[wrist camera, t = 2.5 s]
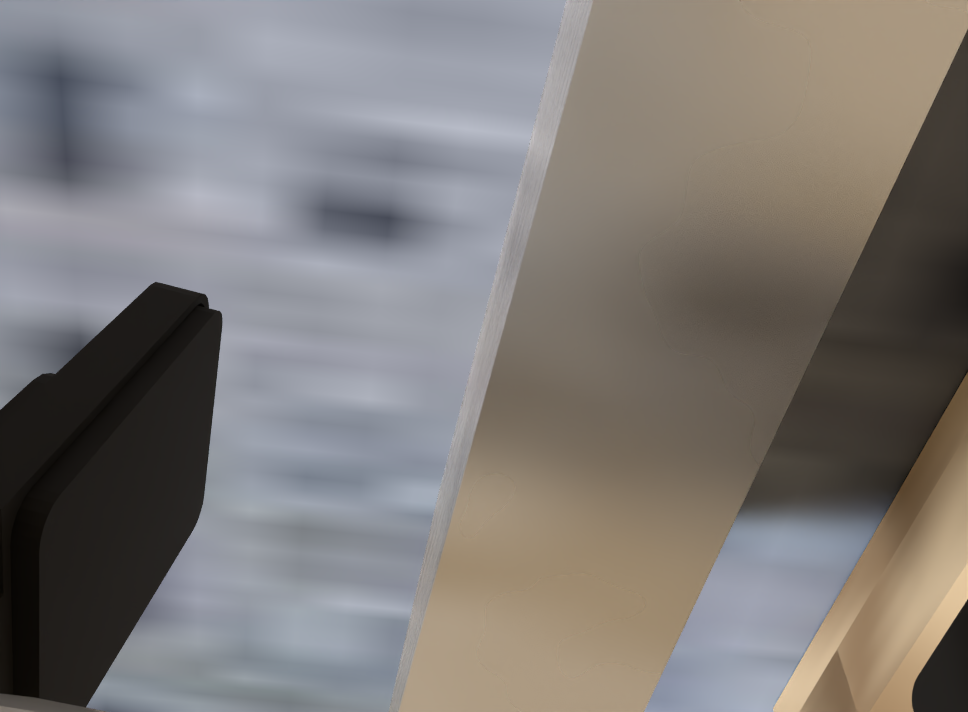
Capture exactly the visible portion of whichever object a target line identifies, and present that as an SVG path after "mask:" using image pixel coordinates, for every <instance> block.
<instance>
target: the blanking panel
mask: <svg viewBox="0 0 968 712" xmlns="http://www.w3.org/2000/svg"><path fill="white" fill-rule="evenodd" d="M967 29H968V0H566V4H565V8H564V12H563V16H562V20H561V23H560V27H559V31H558V35H557V39H556V43H555V46H554V50H553V54H552V58H551V62H550V66H549V70H548V73H547V77H546V81H545V85H544V89H543V93H542V97H541V100H540V104H539V108H538V112H537V116H536V120H535V123H534V127H533V131H532V135H531V139H530V143H529V147H528V150H527V154H526V158H525V162H524V166H523V170H522V174H521V177H520V181H519V185H518V189H517V193H516V197H515V200H514V204H513V208H512V212H511V216H510V220H509V224H508V227H507V231H506V235H505V239H504V243H503V247H502V251H501V254H500V258H499V262H498V266H497V270H496V274H495V277H494V281H493V285H492V289H491V293H490V297H489V301H488V304H487V308H486V312H485V316H484V320H483V324H482V327H481V331H480V335H479V339H478V343H477V347H476V351H475V354H474V358H473V362H472V366H471V370H470V374H469V378H468V381H467V385H466V389H465V393H464V397H463V401H462V404H461V408H460V412H459V416H458V420H457V424H456V428H455V431H454V435H453V439H452V443H451V447H450V451H449V455H448V458H447V462H446V466H445V470H444V474H443V478H442V481H441V485H440V489H439V493H438V498H437V502H436V506H435V511H434V515H433V520H432V524H431V528H430V533H429V537H428V541H427V546H426V550H425V555H424V559H423V563H422V568H421V572H420V577H419V581H418V585H417V590H416V594H415V599H414V603H413V607H412V612H411V616H410V621H409V625H408V629H407V634H406V638H405V642H404V647H403V651H402V656H401V660H400V664H399V669H398V673H397V678H396V682H395V686H394V691H393V695H392V700H391V704H390V708H389V712H644V710H645V708H646V706H647V704H648V702H649V700H650V698H651V696H652V693H653V691H654V689H655V687H656V685H657V683H658V681H659V679H660V677H661V674H662V672H663V670H664V668H665V666H666V664H667V662H668V660H669V658H670V655H671V653H672V651H673V649H674V647H675V645H676V643H677V641H678V639H679V637H680V634H681V632H682V630H683V628H684V626H685V624H686V622H687V620H688V618H689V615H690V613H691V611H692V609H693V607H694V605H695V603H696V601H697V599H698V596H699V594H700V592H701V590H702V588H703V586H704V584H705V582H706V580H707V578H708V575H709V573H710V571H711V569H712V567H713V565H714V563H715V561H716V559H717V556H718V554H719V552H720V550H721V548H722V546H723V544H724V542H725V540H726V537H727V535H728V533H729V531H730V529H731V527H732V525H733V523H734V521H735V518H736V516H737V514H738V512H739V510H740V508H741V506H742V504H743V502H744V500H745V497H746V495H747V493H748V491H749V489H750V487H751V485H752V483H753V481H754V478H755V476H756V474H757V472H758V470H759V468H760V466H761V464H762V462H763V459H764V457H765V455H766V453H767V451H768V449H769V447H770V445H771V443H772V441H773V438H774V436H775V434H776V432H777V430H778V428H779V426H780V424H781V422H782V419H783V417H784V415H785V413H786V411H787V409H788V407H789V405H790V403H791V400H792V398H793V396H794V394H795V392H796V390H797V388H798V386H799V384H800V381H801V379H802V377H803V375H804V373H805V371H806V369H807V367H808V365H809V363H810V360H811V358H812V356H813V354H814V352H815V350H816V348H817V346H818V344H819V341H820V339H821V337H822V335H823V333H824V331H825V329H826V327H827V325H828V322H829V320H830V318H831V316H832V314H833V312H834V310H835V308H836V306H837V304H838V301H839V299H840V297H841V295H842V293H843V291H844V289H845V287H846V285H847V282H848V280H849V278H850V276H851V274H852V272H853V270H854V268H855V266H856V263H857V261H858V259H859V257H860V255H861V253H862V251H863V249H864V247H865V244H866V242H867V240H868V238H869V236H870V234H871V232H872V230H873V228H874V226H875V223H876V221H877V219H878V217H879V215H880V213H881V211H882V209H883V207H884V204H885V202H886V200H887V198H888V196H889V194H890V192H891V190H892V188H893V185H894V183H895V181H896V179H897V177H898V175H899V173H900V171H901V169H902V166H903V164H904V162H905V160H906V158H907V156H908V154H909V152H910V150H911V148H912V145H913V143H914V141H915V139H916V137H917V135H918V133H919V131H920V129H921V126H922V124H923V122H924V120H925V118H926V116H927V114H928V112H929V110H930V107H931V105H932V103H933V101H934V99H935V97H936V95H937V93H938V91H939V89H940V86H941V84H942V82H943V80H944V78H945V76H946V74H947V72H948V70H949V67H950V65H951V63H952V61H953V59H954V57H955V55H956V53H957V51H958V48H959V46H960V44H961V42H962V40H963V38H964V36H965V34H966V32H967Z"/></svg>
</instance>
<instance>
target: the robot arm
mask: <svg viewBox="0 0 968 712" xmlns="http://www.w3.org/2000/svg"><path fill="white" fill-rule="evenodd" d="M221 332H222V314H221V312H220V311H217V310H213V309H209V303H208V298H207V296H206V295H205V294H201V293H197V292H194V291H190V290H186V289H182V288H178V287H174V286H170V285H166V284H162V283H158V282H155V283H153V284H151V285H150V286H149V287H148V288H147V289H146V290H145V291H144V292H142V293H141V294H140V295H139V296H138V297H137V298H136V299H135V300H134V301H133V302H132V303H131V304H130V305H129V306H128V307H127V308H125V309H124V310H123V311H122V312H121V313H120V314H119V315H118V316H117V317H116V318H115V319H114V320H113V321H112V322H111V323H109V324H108V325H107V326H106V327H105V328H104V329H103V330H102V331H101V332H100V333H99V334H98V335H97V336H96V337H95V338H93V339H92V340H91V341H90V342H89V343H88V344H87V345H86V346H85V347H84V348H83V349H82V350H81V351H80V352H79V353H78V354H76V355H75V356H74V357H73V358H72V359H71V360H70V361H69V362H68V363H67V364H66V365H65V366H64V367H63V368H62V369H60V370H59V371H58V372H57V373H56V374H52V373H48V374H42V375H40V376H39V377H37V378H36V379H34V380H33V381H32V382H31V383H29V384H28V385H27V386H26V387H25V388H24V389H23V390H22V391H21V392H20V393H18V394H17V395H16V396H15V397H14V398H13V399H12V400H11V401H10V402H9V403H7V404H6V405H5V406H4V407H3V408H2V409H1V410H0V712H106V711H101V710H96V709H91V708H86V706H87V704H88V703H89V701H90V699H91V698H92V696H93V694H94V693H95V691H96V690H97V688H98V686H99V685H100V683H101V681H102V680H103V678H104V676H105V675H106V673H107V671H108V670H109V668H110V666H111V665H112V663H113V661H114V660H115V658H116V657H117V655H118V653H119V652H120V650H121V648H122V647H123V645H124V643H125V642H126V640H127V638H128V637H129V635H130V633H131V632H132V630H133V628H134V627H135V625H136V623H137V622H138V620H139V619H140V617H141V615H142V614H143V612H144V610H145V609H146V607H147V605H148V604H149V602H150V600H151V599H152V597H153V595H154V594H155V592H156V590H157V589H158V587H159V586H160V584H161V582H162V581H163V579H164V577H165V576H166V574H167V572H168V571H169V569H170V567H171V566H172V564H173V562H174V561H175V559H176V557H177V556H178V554H179V553H180V551H181V549H182V548H183V546H184V544H185V543H186V541H187V539H188V538H189V536H190V534H191V533H192V531H193V529H194V527H195V525H196V523H197V520H198V518H199V515H200V512H201V508H202V504H203V499H204V491H205V482H206V472H207V463H208V454H209V444H210V435H211V426H212V416H213V407H214V398H215V388H216V379H217V369H218V360H219V351H220V341H221ZM912 707H913V711H914V712H968V599H967V601H966V602H965V604H964V606H963V607H962V609H961V610H960V612H959V613H958V615H957V616H956V618H955V619H954V621H953V622H952V624H951V626H950V627H949V629H948V630H947V632H946V633H945V635H944V636H943V638H942V639H941V641H940V643H939V644H938V646H937V647H936V649H935V650H934V652H933V653H932V655H931V656H930V658H929V659H928V661H927V663H926V664H925V666H924V667H923V669H922V670H921V672H920V673H919V675H918V676H917V678H916V680H915V682H914V686H913V690H912Z"/></svg>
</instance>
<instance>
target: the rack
mask: <svg viewBox="0 0 968 712" xmlns="http://www.w3.org/2000/svg"><path fill="white" fill-rule="evenodd" d="M967 599H968V372H967V374H966V376H965V378H964V379H963V381H962V383H961V384H960V386H959V388H958V390H957V391H956V393H955V395H954V397H953V398H952V400H951V402H950V403H949V405H948V407H947V409H946V410H945V412H944V414H943V416H942V417H941V419H940V421H939V422H938V424H937V426H936V428H935V429H934V431H933V433H932V435H931V436H930V438H929V440H928V441H927V443H926V445H925V447H924V448H923V450H922V452H921V454H920V455H919V457H918V459H917V461H916V462H915V464H914V466H913V467H912V469H911V471H910V473H909V474H908V476H907V478H906V480H905V481H904V483H903V485H902V486H901V488H900V490H899V492H898V493H897V495H896V497H895V499H894V500H893V502H892V504H891V505H890V507H889V509H888V511H887V512H886V514H885V516H884V518H883V519H882V521H881V523H880V525H879V526H878V528H877V530H876V531H875V533H874V535H873V537H872V538H871V540H870V542H869V544H868V545H867V547H866V549H865V550H864V552H863V554H862V556H861V557H860V559H859V561H858V563H857V564H856V566H855V568H854V569H853V571H852V573H851V575H850V576H849V578H848V580H847V582H846V583H845V585H844V587H843V588H842V590H841V592H840V594H839V595H838V597H837V599H836V601H835V602H834V604H833V606H832V608H831V609H830V611H829V613H828V614H827V616H826V618H825V620H824V621H823V623H822V625H821V627H820V628H819V630H818V632H817V633H816V635H815V637H814V639H813V640H812V642H811V644H810V646H809V647H808V649H807V651H806V652H805V654H804V656H803V658H802V659H801V661H800V663H799V665H798V666H797V668H796V670H795V672H794V673H793V675H792V677H791V678H790V680H789V682H788V684H787V685H786V687H785V689H784V691H783V692H782V694H781V696H780V697H779V699H778V701H777V703H776V704H775V706H774V708H773V711H774V712H914V711H913V707H912V690H913V686H914V682H915V680H916V678H917V676H918V675H919V673H920V672H921V670H922V669H923V667H924V666H925V664H926V663H927V661H928V659H929V658H930V656H931V655H932V653H933V652H934V650H935V649H936V647H937V646H938V644H939V643H940V641H941V639H942V638H943V636H944V635H945V633H946V632H947V630H948V629H949V627H950V626H951V624H952V622H953V621H954V619H955V618H956V616H957V615H958V613H959V612H960V610H961V609H962V607H963V606H964V604H965V602H966V601H967Z"/></svg>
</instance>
